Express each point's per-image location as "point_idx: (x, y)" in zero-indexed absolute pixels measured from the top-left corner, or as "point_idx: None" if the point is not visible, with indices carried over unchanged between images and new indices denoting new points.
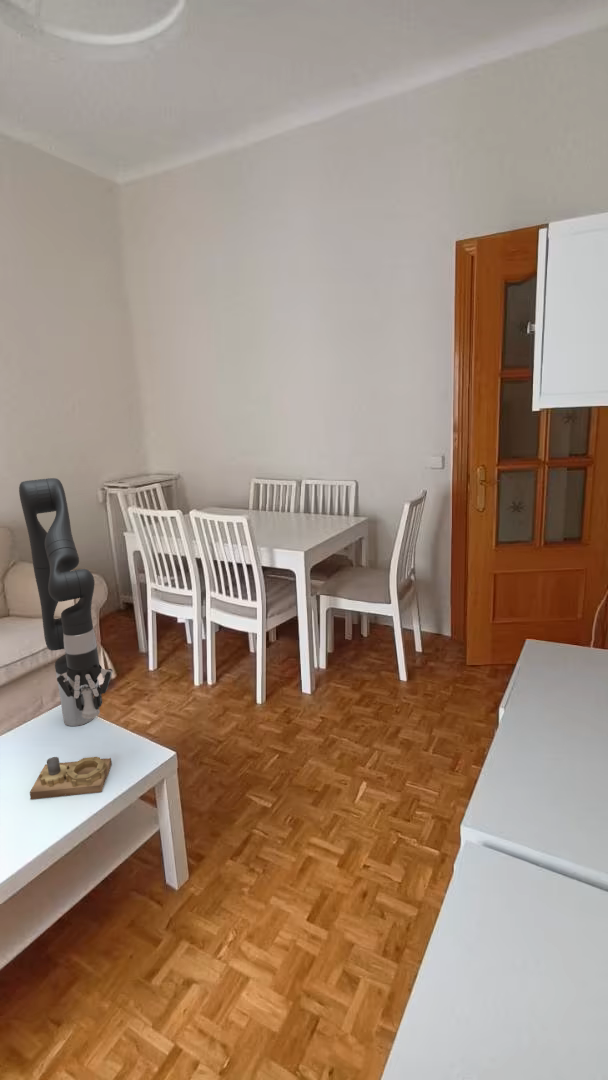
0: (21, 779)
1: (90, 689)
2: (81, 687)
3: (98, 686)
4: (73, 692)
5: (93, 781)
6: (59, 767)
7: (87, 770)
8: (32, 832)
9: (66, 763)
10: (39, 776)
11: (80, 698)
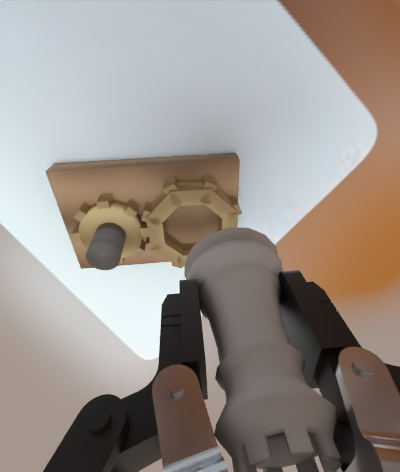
0: (6, 192)
1: (315, 454)
2: (217, 451)
3: (395, 425)
4: (154, 460)
5: None
6: (123, 242)
7: (188, 207)
8: (141, 319)
9: (112, 173)
10: (66, 221)
11: (206, 392)
